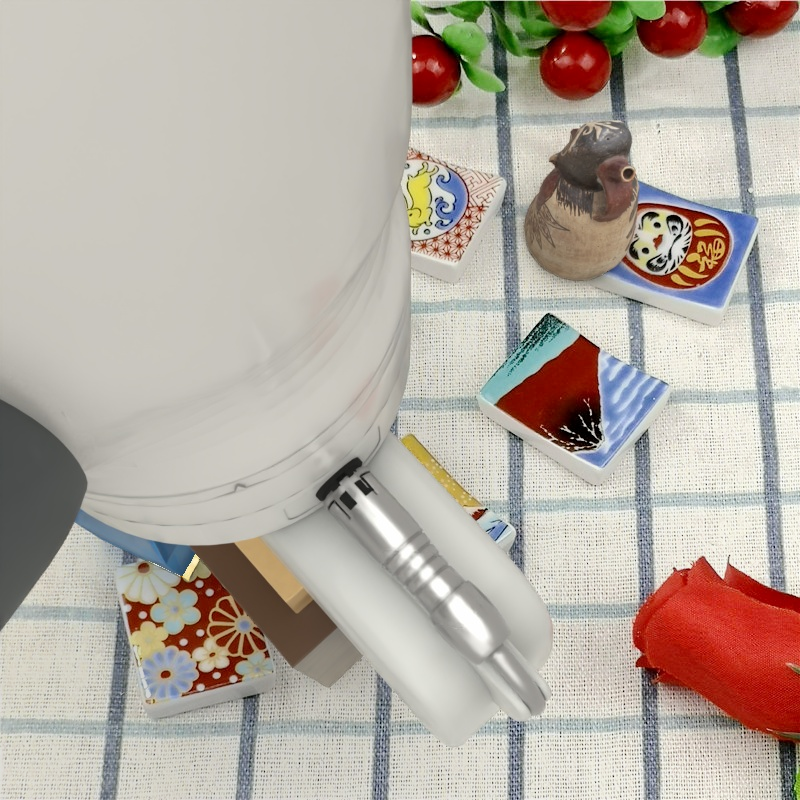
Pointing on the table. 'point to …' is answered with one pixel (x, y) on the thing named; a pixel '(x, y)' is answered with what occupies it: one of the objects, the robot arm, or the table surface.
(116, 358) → the robot arm
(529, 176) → the table surface
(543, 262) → the figurine
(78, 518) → the perfume bottle
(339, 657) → the block
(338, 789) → the table surface
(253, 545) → the wood block
